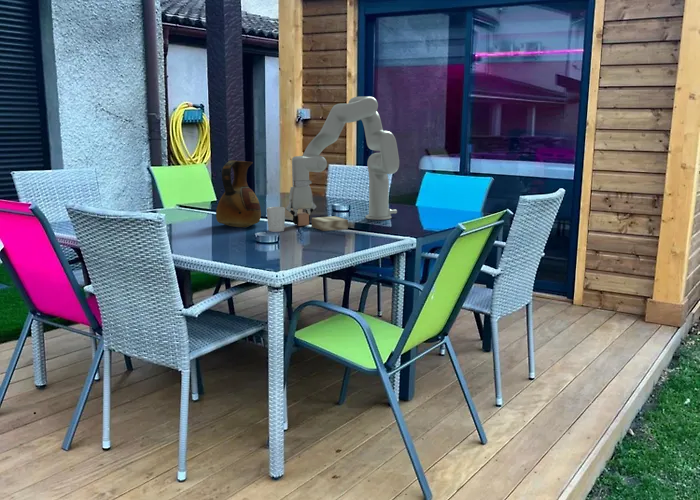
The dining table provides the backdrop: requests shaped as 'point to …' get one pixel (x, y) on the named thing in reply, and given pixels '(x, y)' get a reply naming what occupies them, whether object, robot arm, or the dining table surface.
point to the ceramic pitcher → (237, 197)
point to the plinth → (329, 223)
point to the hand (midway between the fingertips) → (301, 223)
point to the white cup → (276, 218)
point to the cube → (303, 219)
